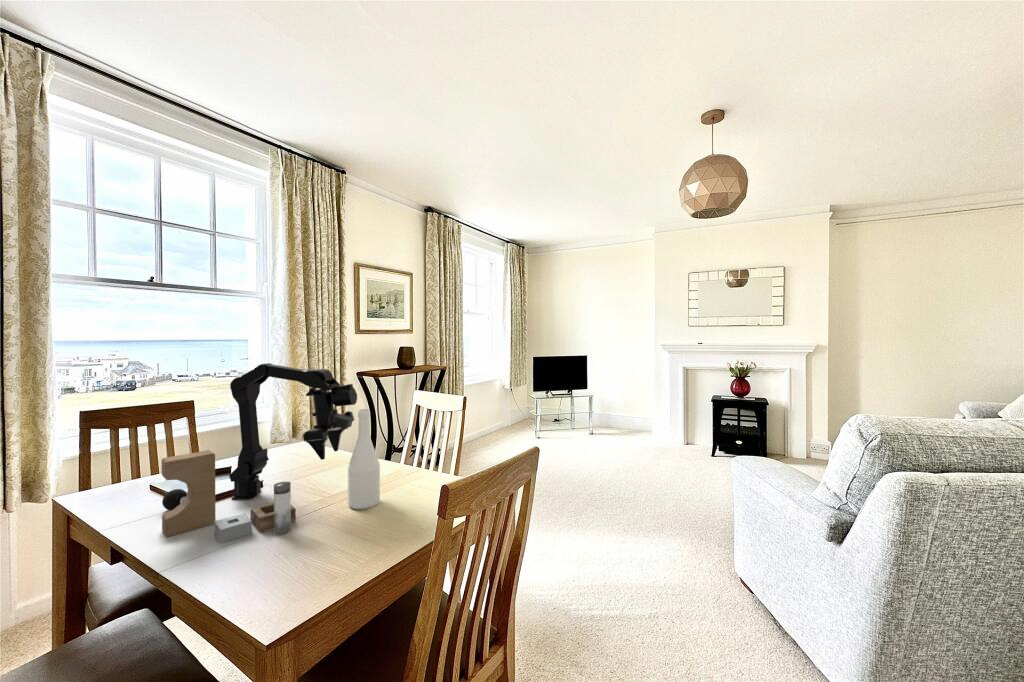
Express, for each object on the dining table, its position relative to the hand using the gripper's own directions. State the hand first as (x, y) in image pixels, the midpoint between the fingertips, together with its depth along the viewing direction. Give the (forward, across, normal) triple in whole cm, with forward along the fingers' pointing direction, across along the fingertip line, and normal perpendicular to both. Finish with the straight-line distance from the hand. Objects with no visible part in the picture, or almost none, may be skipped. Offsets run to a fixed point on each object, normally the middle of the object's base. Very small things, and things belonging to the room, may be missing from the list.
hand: (329, 455), depth 136 cm
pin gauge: (+14, -23, +4) cm, 27 cm away
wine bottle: (+16, -4, -11) cm, 20 cm away
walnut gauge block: (+13, -18, +9) cm, 24 cm away
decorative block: (+11, -22, +30) cm, 39 cm away
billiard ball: (+9, -11, +44) cm, 46 cm away
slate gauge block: (+12, -25, +16) cm, 32 cm away
